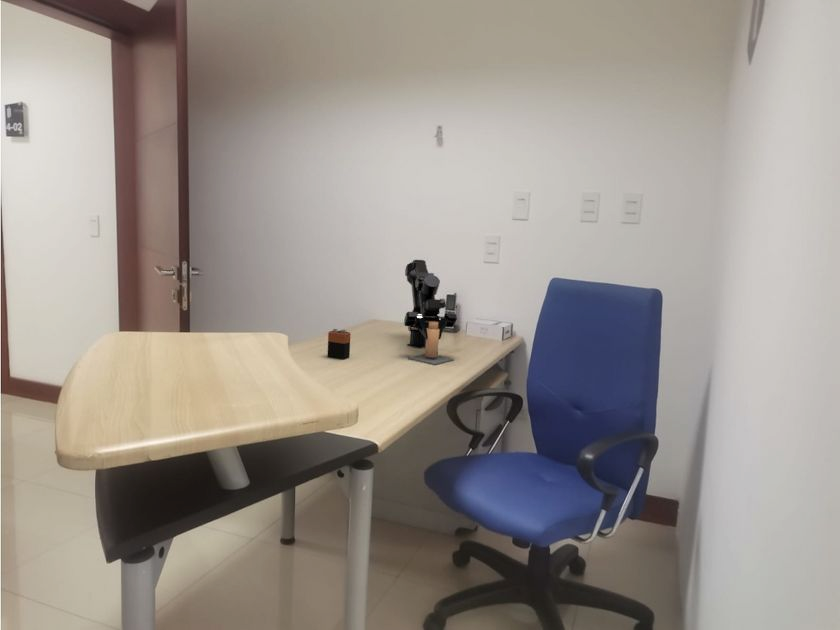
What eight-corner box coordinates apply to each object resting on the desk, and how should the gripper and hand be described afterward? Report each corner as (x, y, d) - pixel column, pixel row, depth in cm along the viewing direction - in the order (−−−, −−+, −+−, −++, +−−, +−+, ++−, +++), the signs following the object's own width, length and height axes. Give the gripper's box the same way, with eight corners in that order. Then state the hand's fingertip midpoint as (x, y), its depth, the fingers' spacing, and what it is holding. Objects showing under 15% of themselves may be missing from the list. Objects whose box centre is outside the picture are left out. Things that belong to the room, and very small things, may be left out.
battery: (343, 359, 198) (345, 331, 197) (326, 357, 201) (327, 329, 199) (349, 357, 202) (351, 329, 201) (333, 354, 205) (334, 327, 203)
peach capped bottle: (422, 354, 208) (425, 320, 206) (433, 354, 210) (436, 320, 208) (428, 357, 204) (430, 323, 202) (439, 357, 206) (442, 322, 204)
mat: (407, 358, 206) (407, 357, 206) (427, 354, 215) (427, 353, 215) (434, 365, 199) (435, 363, 199) (453, 360, 208) (454, 359, 208)
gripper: (407, 289, 205) (412, 325, 196) (457, 291, 210) (464, 326, 201) (402, 307, 214) (406, 342, 205) (450, 309, 218) (456, 343, 209)
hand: (433, 338), depth 205 cm, fingers closed on peach capped bottle, 4 cm apart
